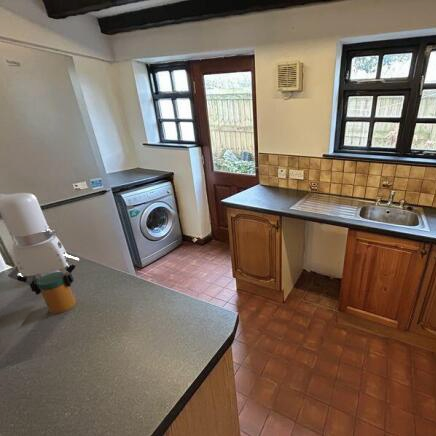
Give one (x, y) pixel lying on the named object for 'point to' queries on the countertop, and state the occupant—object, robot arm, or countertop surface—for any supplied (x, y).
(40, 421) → the countertop surface
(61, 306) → the honey jar
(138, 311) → the countertop surface
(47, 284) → the jar lid
